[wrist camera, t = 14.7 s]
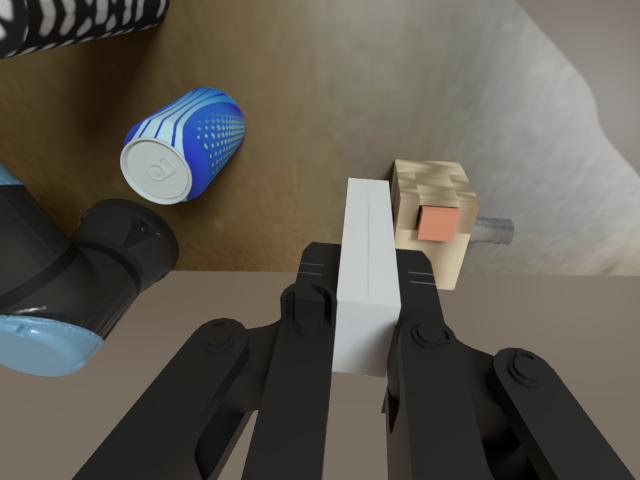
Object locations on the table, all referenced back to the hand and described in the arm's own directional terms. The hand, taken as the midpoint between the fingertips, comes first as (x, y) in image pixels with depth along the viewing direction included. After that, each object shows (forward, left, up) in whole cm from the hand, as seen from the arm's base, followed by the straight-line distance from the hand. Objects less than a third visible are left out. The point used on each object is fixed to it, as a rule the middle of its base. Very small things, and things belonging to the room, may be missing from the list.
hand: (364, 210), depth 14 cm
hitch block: (+8, -17, -32) cm, 37 cm away
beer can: (-19, -7, -32) cm, 38 cm away
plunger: (+8, -13, -28) cm, 32 cm away
